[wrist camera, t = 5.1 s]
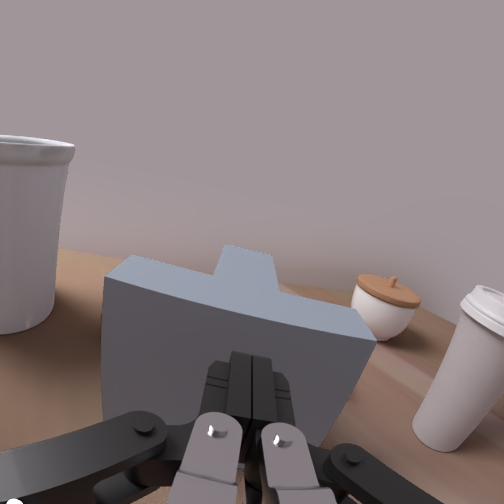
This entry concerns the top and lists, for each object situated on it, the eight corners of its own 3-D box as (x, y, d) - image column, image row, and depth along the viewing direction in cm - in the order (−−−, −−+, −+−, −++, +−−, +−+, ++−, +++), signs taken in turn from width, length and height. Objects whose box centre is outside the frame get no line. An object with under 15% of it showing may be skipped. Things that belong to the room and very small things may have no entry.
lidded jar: (370, 314, 53) (388, 266, 51) (412, 344, 44) (436, 292, 42) (328, 316, 48) (348, 261, 45) (374, 353, 39) (401, 291, 36)
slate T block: (104, 432, 17) (104, 276, 14) (148, 347, 28) (167, 229, 25) (300, 474, 18) (377, 340, 15) (286, 379, 29) (328, 269, 26)
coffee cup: (398, 396, 29) (457, 273, 26) (462, 414, 26) (523, 301, 23) (399, 453, 21) (489, 302, 17) (476, 467, 18) (565, 334, 14)
